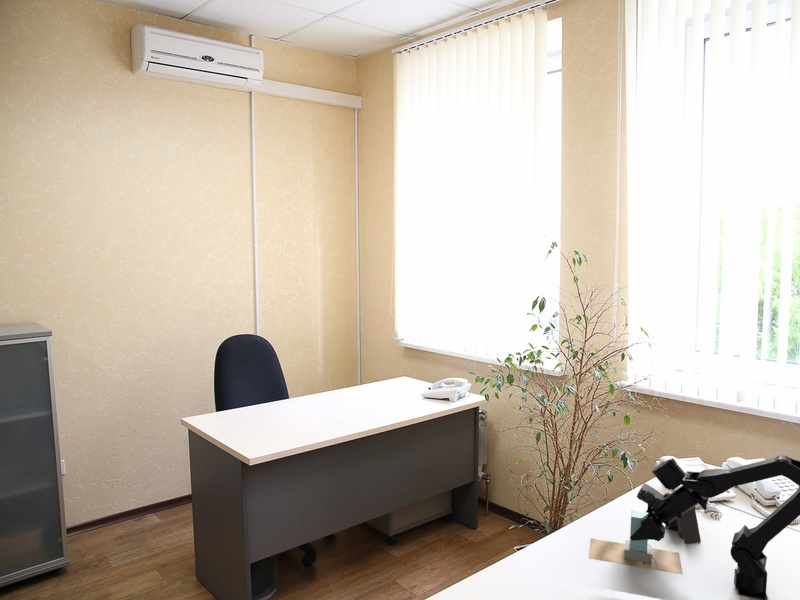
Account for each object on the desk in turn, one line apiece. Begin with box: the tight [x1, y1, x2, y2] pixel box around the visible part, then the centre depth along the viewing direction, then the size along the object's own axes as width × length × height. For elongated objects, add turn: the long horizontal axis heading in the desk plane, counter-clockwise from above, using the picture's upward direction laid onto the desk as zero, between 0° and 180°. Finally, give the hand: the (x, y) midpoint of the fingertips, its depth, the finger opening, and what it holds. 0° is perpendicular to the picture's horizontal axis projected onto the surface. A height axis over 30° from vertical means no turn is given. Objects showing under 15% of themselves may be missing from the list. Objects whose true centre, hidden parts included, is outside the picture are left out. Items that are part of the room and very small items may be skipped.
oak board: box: [588, 538, 684, 575], centre depth 173 cm, size 24×12×2 cm, turn 70°
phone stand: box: [664, 506, 702, 545], centre depth 187 cm, size 9×6×12 cm, turn 13°
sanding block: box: [624, 509, 653, 563], centre depth 172 cm, size 7×6×12 cm
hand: (633, 531), depth 173 cm, fingers open, 9 cm apart
